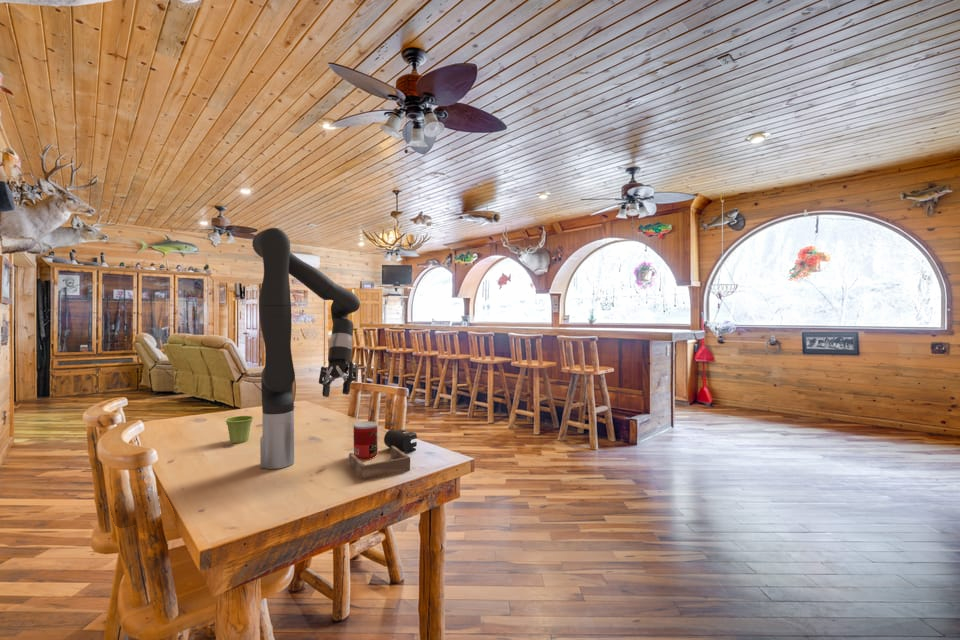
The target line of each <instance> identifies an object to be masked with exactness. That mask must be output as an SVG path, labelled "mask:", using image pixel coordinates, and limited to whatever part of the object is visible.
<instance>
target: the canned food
mask: <svg viewBox="0 0 960 640" xmlns="http://www.w3.org/2000/svg"><path fill="white" fill-rule="evenodd" d="M353 454H354V455H355V456H356V457H357V458H358V459H359V460H370V458H371V459H373V457H374V458H375V456H376V455H377V456H378V422H375V421H359V422H356V423H354V424H353Z"/></svg>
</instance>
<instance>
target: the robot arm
mask: <svg viewBox="0 0 960 640" xmlns="http://www.w3.org/2000/svg"><path fill="white" fill-rule="evenodd" d="M251 243H252V249H253V250H254V253H256V254H257V255H258V256H259V257H261V258H262V262H263V263H262V265H263V277H262V283H261V287H260V291H259V292H260V293H259V297H258V298H259V299H258V310H259V311H258V312H259V314H258V315H259V324H260V329H261V335H262V339H263V342H264V347H265V348H264V350H265V351H264V352H265V357H264V359H265V360H264V361H265V362H264V367H263V369H262V371H261V379H260V380H261V381H260V382H261V405H262V406H261V407H262V409H261V410H262V411H261V412H262V420H261V421H262V423H261V424H262V436H261V437H260V440H259V441H260V442H259V443H260V444H259V445H260V454H259V455H260V457H259V458H260V463H259V465H260V468H261V469H266V470H267V469H269V470H277V469H283V468H286V467H287V468H288V467H290V466H292V465H293V464H294V463H295V403H294V402H295V400H294V394H293V390H294V389H293V384H294V382H295V379H296V372H295V368H294V362H293V354H292V347H291V346H292V343H291V341H292V317H293V316H292V302H291V301H292V299H291V287H290V284H291V283H290V275H291V276H292V277H293V278H295V279H296V280H297V281H299V282H300V283H301V284H303V285H304V286H305V287H306V288H307V289H309V290H310V291H311V292H313V293H314V294H315V295H316V296H317V297H318V298H320V299H321V300H322V301H323V300H324V301H332V302H331V305H330V314H331V322H332V328H331V329H332V330H331V337H330V340H329V349H328V353H327V354H328V355H327V356H328V357H327V361H328V366H320V372H319V376H318V384H321V385H322V392H321V393H322V397H325V398H329V396H330V391H331V385H332V383H333V382H334V381H335V380H336V379H339V378H342V380H343V381H344V382H343V383H342V384H343V385H342V394H343V395H349V394H350V393H351V384H352V382H354V381H357V374H358V364H357V362H353V361H352V354H353V353H352V352H353V345H354V344H353V342H354V341H353V335H354V321H352V320H351V319H348V317H349V315H350V314H352V313H355V312H357V311H358V310H359V309H360V306H361V302H360V299H359V298H358V296H357V295H356V294H355V293H354V292H353V291H351V290H349V289H347V288H345V287H343V286H341V285H338V284H337V283H335V282H334V281H333V280H332V279H331V278H330V277H329V276H327V275H325V274H324V273H323V272H322V271H320V270H319V269H318V268H315V267H314V266H312V265H311V264H309V263H307V262H305V261H303V260H302V259H300V258H299V257H297V255H294V254H293V253H292V252H291V241H290V238H289V236H288V234H287V233H286V232H285V231H284V230H282V229H281V228H278V227H269V228H266V229H265V230H264V229H263V230H262V231H260V232H258V233H257V234H255V235H254V236H253V239H252V242H251Z"/></svg>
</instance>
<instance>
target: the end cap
mask: <svg viewBox="0 0 960 640" xmlns="http://www.w3.org/2000/svg"><path fill="white" fill-rule="evenodd" d="M417 437H418V435H417V433H416V432H415V431H414V432H413V431H409V432H406V430H404V429H397V430H395V429H389V430H387V432H386V433H385V435H384V437H383V443H384V445H385V446H386V447H388V448H389V449H391V446H395V447H396V448H398V449H399V450H400V451H402V452H403V453H405V454H409V453H412V452H415V451H416V450H417V449H416V448H415V447H417V446H418V445H417V444H418V443H417V441H414V442H412V441H413V440H416V439H417Z"/></svg>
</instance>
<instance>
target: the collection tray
mask: <svg viewBox="0 0 960 640" xmlns="http://www.w3.org/2000/svg"><path fill="white" fill-rule="evenodd" d="M348 467H350V469H351V470H352V471H353V470H354V473H355V474H356V475H357V476H358V477H359V478H360V479H361V480H362V481H365V480H369V479H370V478H371V479H374V477H375V478H380V477H384V476H383V475H385V476H389V475H388V474H390V475H393V473H394V474H399V473H403V471H404V472H407V470H409V471H411V457H410V456H409V455H407V453H405V452H402V451H400V450H399V449H398V448H396V447H395V446H391V448H390V459H388V460H384V461H379V462H373V463H369V464H365V463H364V462H363V461H361V459H358V458H357V457H356V456H355V455H354V452H350V453H348ZM398 472H399V473H398ZM379 476H380V477H379Z"/></svg>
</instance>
